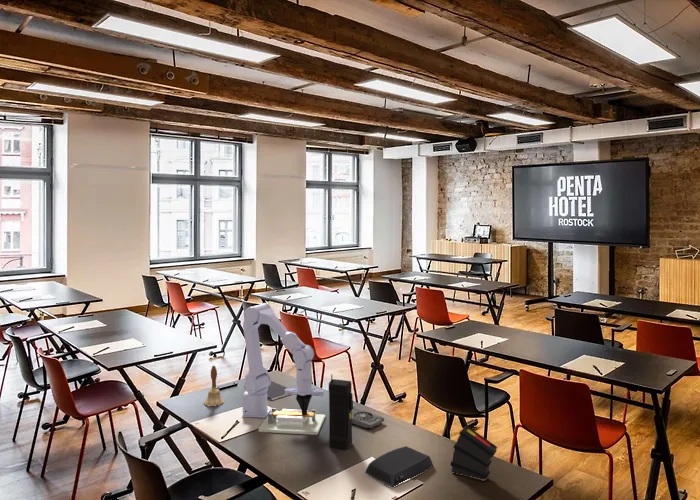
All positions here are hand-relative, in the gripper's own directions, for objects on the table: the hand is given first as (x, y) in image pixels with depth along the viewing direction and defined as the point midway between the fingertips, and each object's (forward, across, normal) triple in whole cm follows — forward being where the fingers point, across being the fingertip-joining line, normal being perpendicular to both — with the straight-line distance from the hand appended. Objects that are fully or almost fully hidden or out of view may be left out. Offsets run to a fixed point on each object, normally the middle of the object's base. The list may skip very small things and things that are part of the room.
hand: (304, 413), depth 200 cm
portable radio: (+5, +16, -15) cm, 23 cm away
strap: (+1, -5, 0) cm, 5 cm away
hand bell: (+4, -42, +17) cm, 46 cm away
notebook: (+5, -24, +34) cm, 42 cm away
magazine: (+5, +60, -31) cm, 67 cm away
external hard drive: (+5, +37, -30) cm, 47 cm away
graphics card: (+5, +20, +5) cm, 22 cm away
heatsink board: (+4, -4, 0) cm, 6 cm away
